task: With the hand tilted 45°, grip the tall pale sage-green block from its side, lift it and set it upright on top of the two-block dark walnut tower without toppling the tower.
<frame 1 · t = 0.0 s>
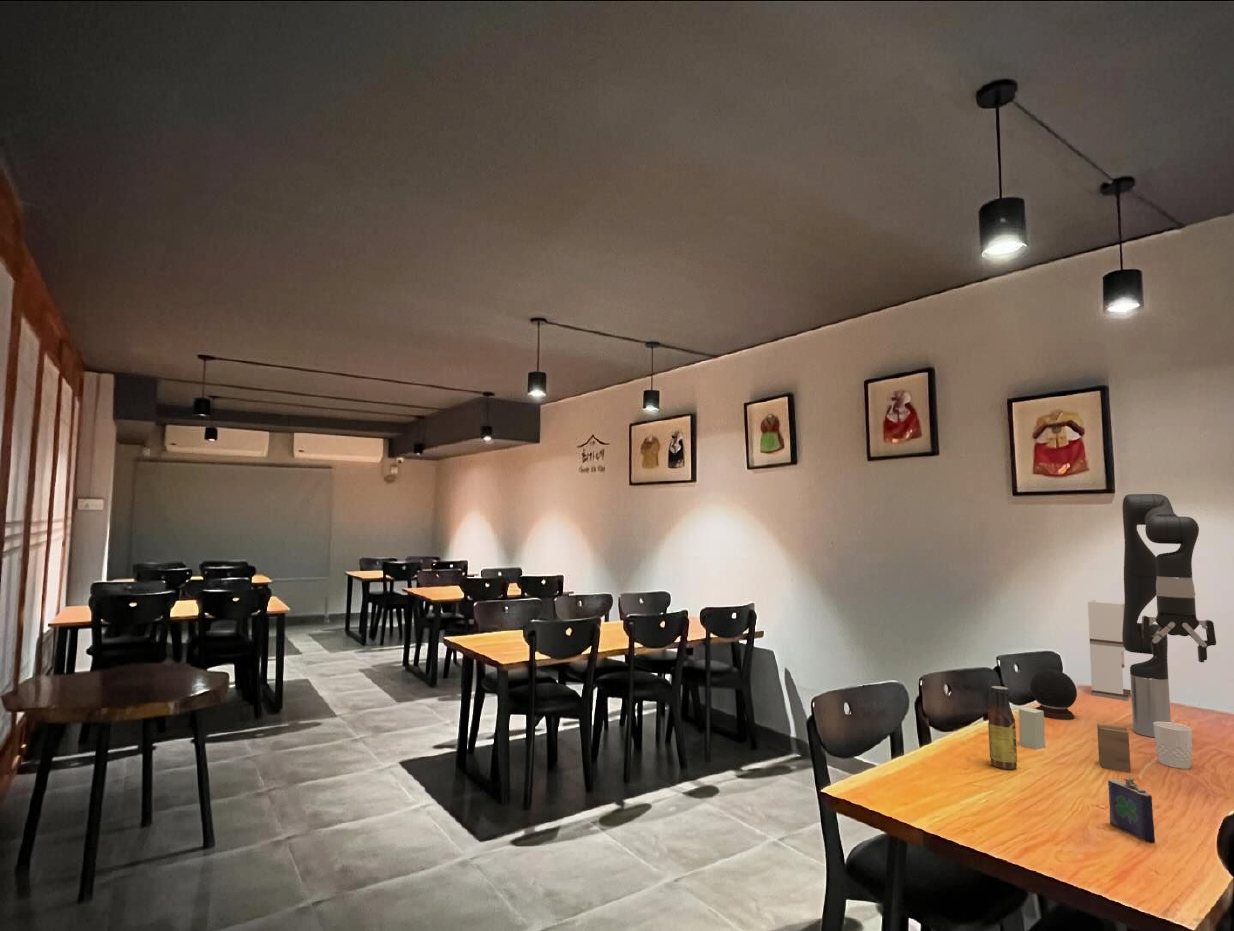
hand: (1179, 660, 167), 29 cm above the table, tool pointing down, fingers open, 8 cm apart
mini white fridge: (1111, 696, 252), on the table
sage block: (1032, 746, 190), on the table
tower lower: (1114, 767, 174), on the table, touching tower upper
black oval: (1054, 715, 223), on the table
flask: (1132, 833, 135), on the table
white cup: (1174, 765, 176), on the table
sauce bottle: (1003, 767, 173), on the table
tower upper: (1113, 747, 174), point 5 cm above the table, touching tower lower
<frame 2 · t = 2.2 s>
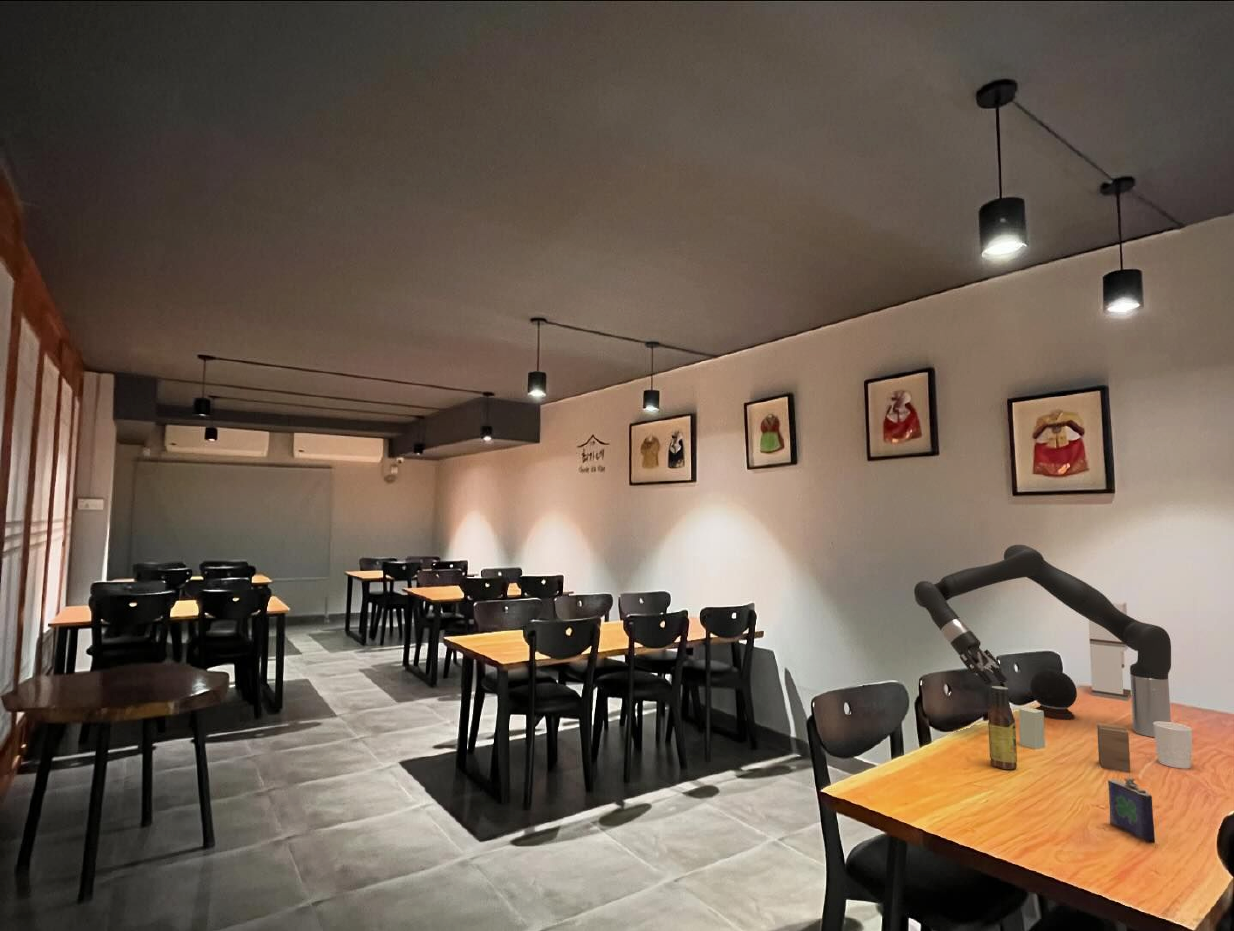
hand: (997, 683, 198), 16 cm above the table, tool tilted 45°, fingers open, 8 cm apart
nothing on the table moved.
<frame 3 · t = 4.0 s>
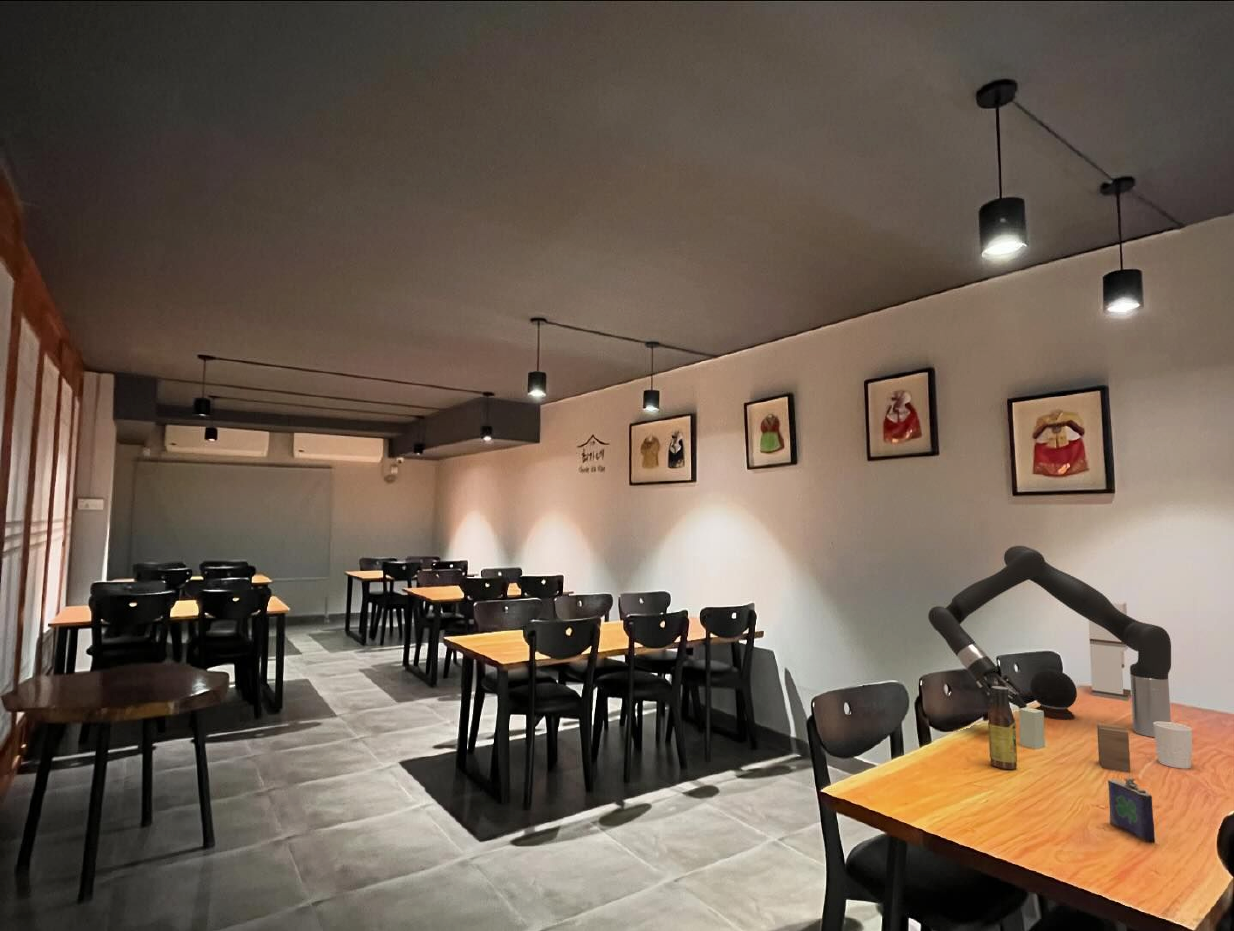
hand: (1015, 710, 194), 9 cm above the table, tool tilted 45°, fingers open, 8 cm apart
nothing on the table moved.
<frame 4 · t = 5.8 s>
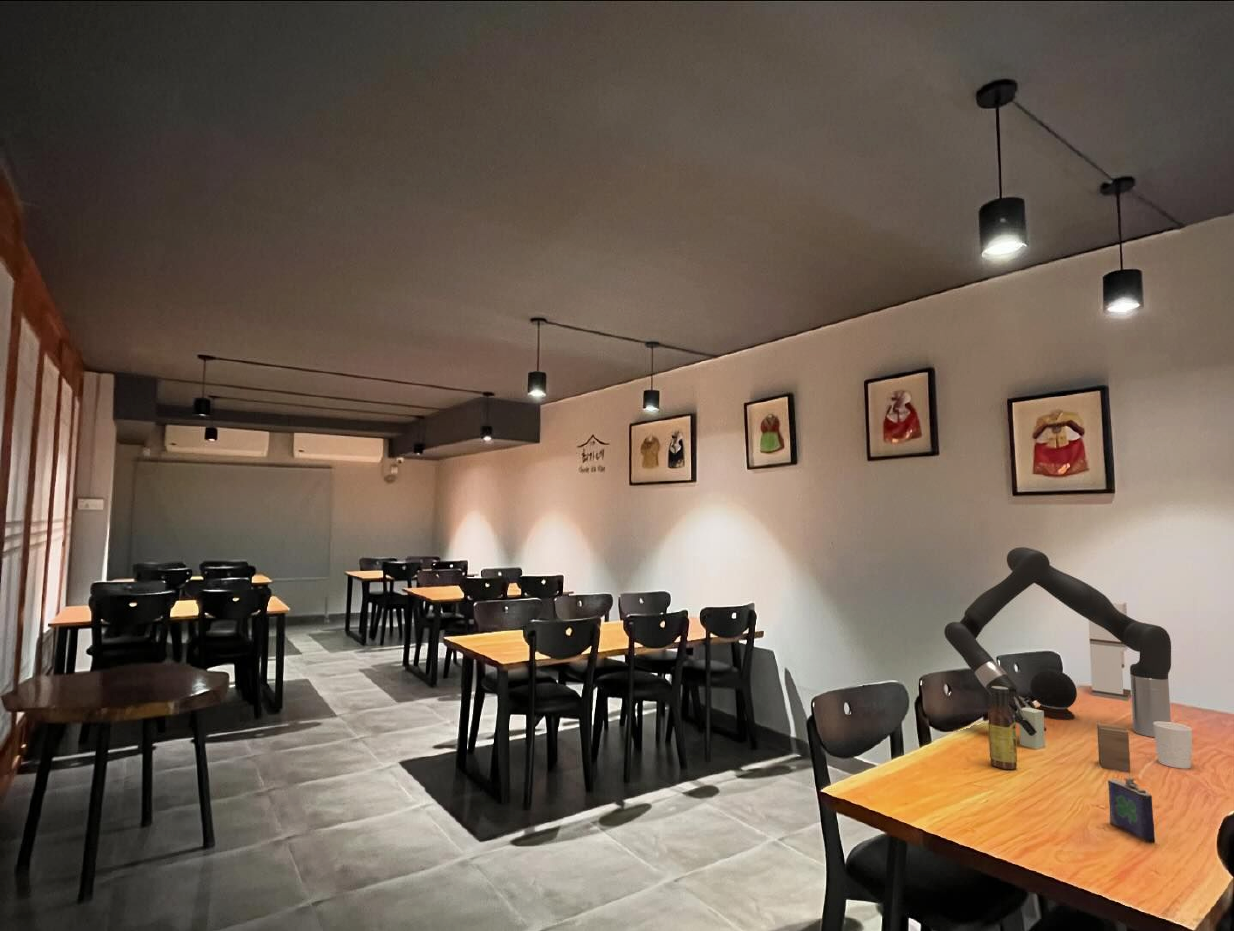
hand: (1038, 732, 188), 4 cm above the table, tool tilted 45°, fingers closed on sage block, 4 cm apart
sage block: (1032, 746, 190), on the table, touching gripper
everything else where it was.
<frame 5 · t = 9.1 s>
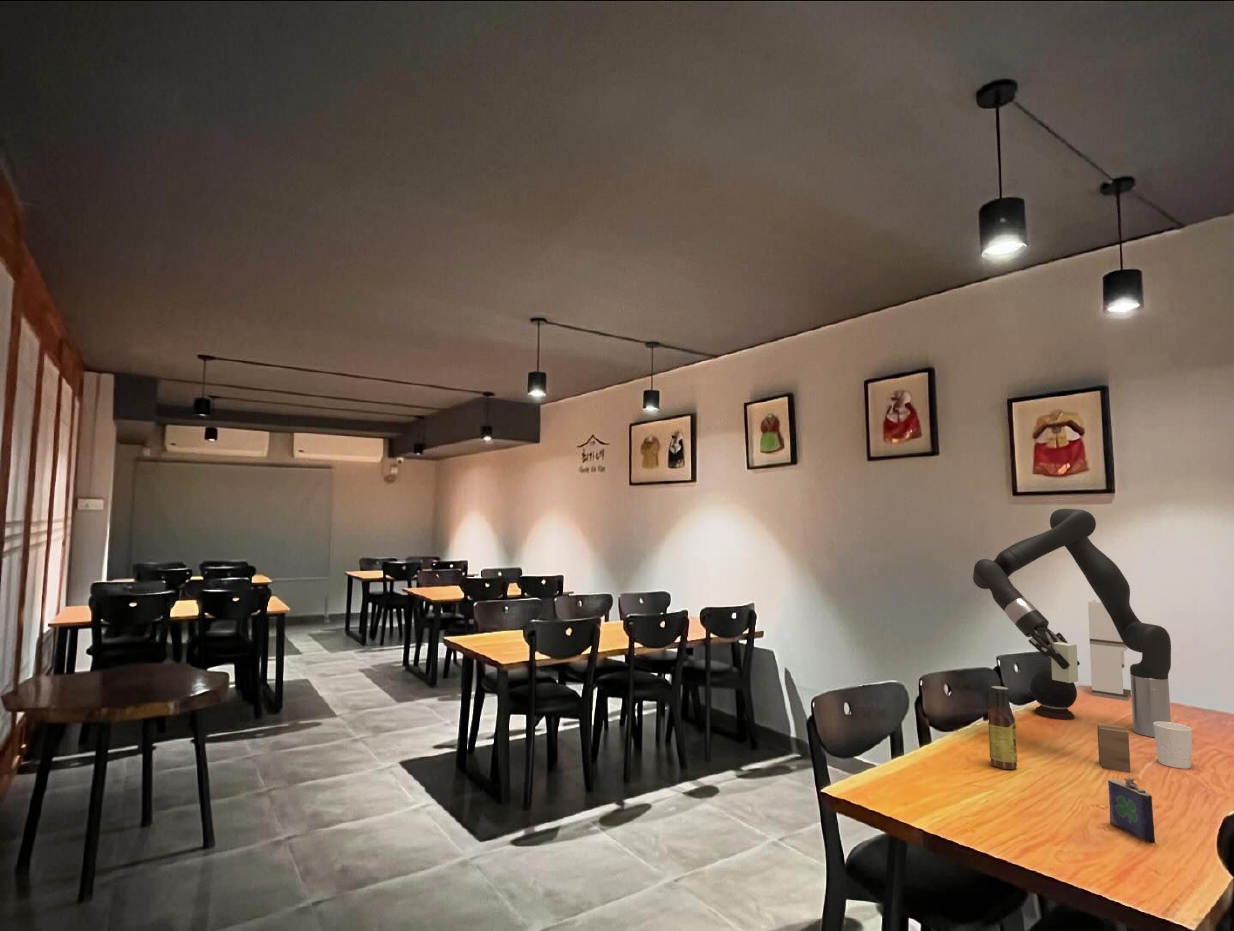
hand: (1071, 666, 184), 24 cm above the table, tool tilted 45°, fingers closed on sage block, 4 cm apart
sage block: (1065, 680, 185), point 20 cm above the table, touching gripper
everything else where it was.
when the fingers open (15 cm above the table, at t = 12.5 s): sage block drops 1 cm, resting on tower upper.
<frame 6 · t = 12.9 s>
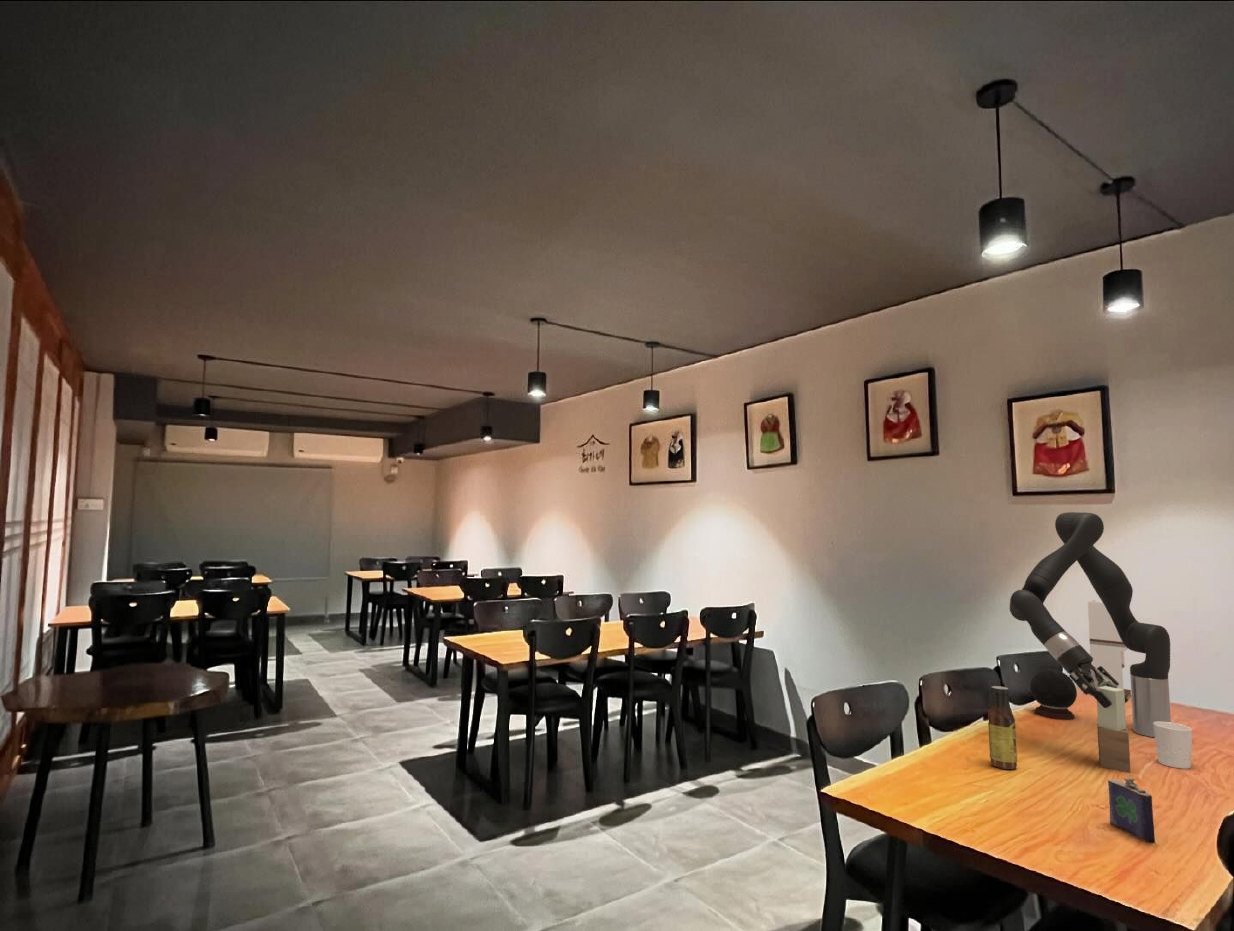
hand: (1117, 704, 174), 16 cm above the table, tool tilted 45°, fingers open, 8 cm apart
sage block: (1112, 727, 175), point 10 cm above the table, touching tower upper
tower upper: (1113, 747, 174), point 5 cm above the table, touching sage block, tower lower
everything else where it was.
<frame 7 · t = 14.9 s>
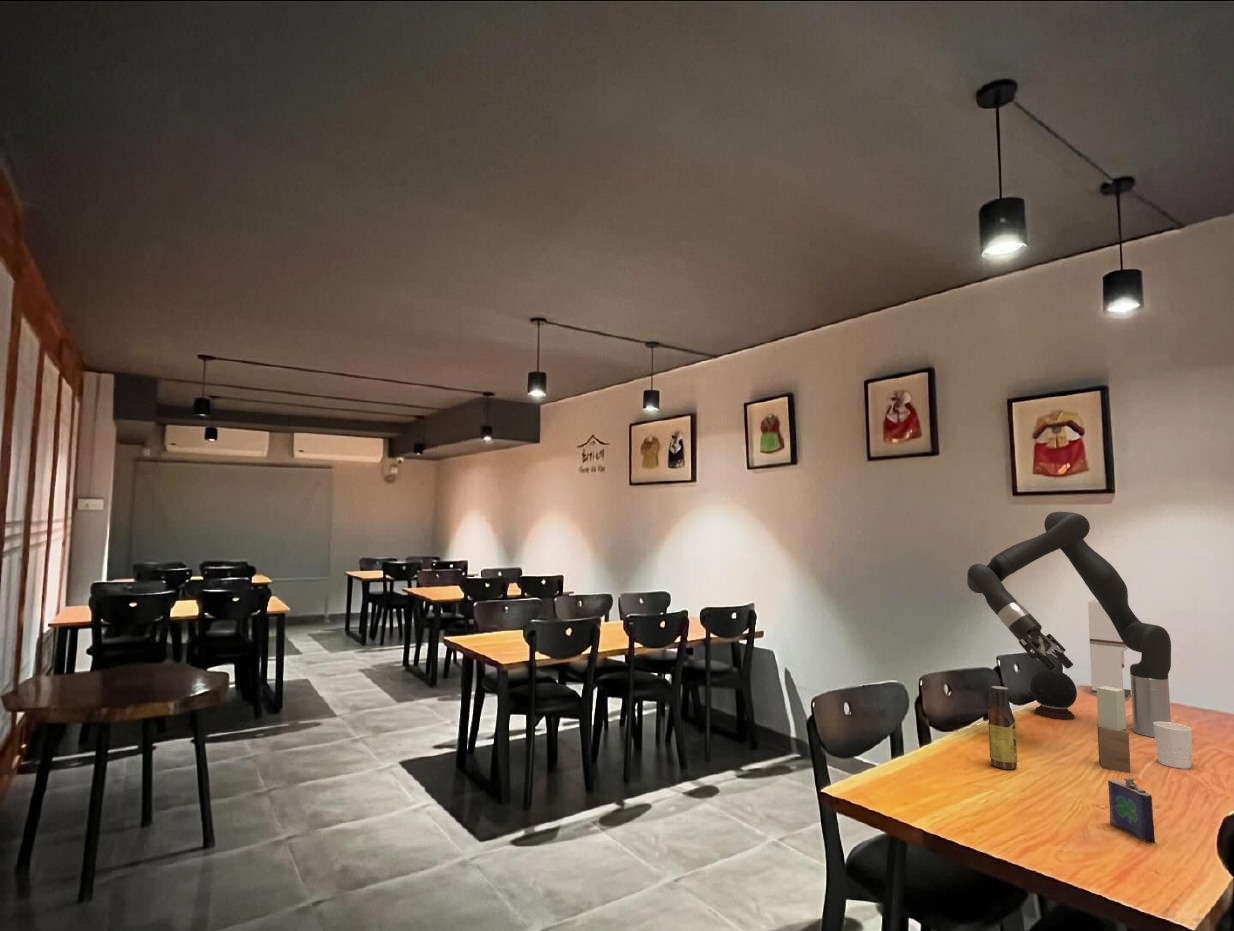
hand: (1062, 668, 186), 23 cm above the table, tool tilted 45°, fingers open, 8 cm apart
nothing on the table moved.
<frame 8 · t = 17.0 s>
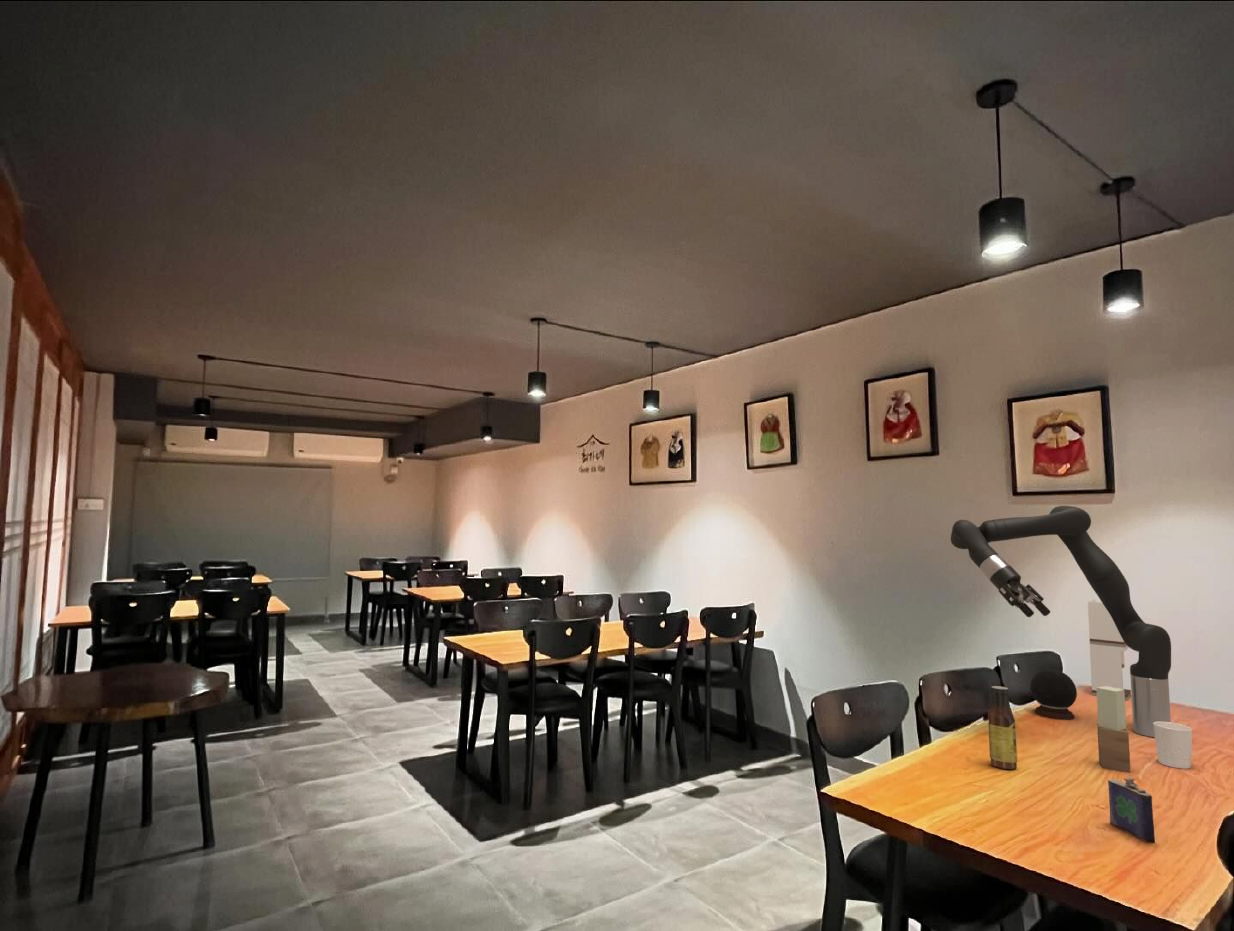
hand: (1039, 614, 195), 37 cm above the table, tool tilted 45°, fingers open, 8 cm apart
nothing on the table moved.
at the end: sage block 0.1 cm off-centre on the tower lower, point 10.0 cm above the tower lower's base; sage block tilted 0°; tower upper tilted 0° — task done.
